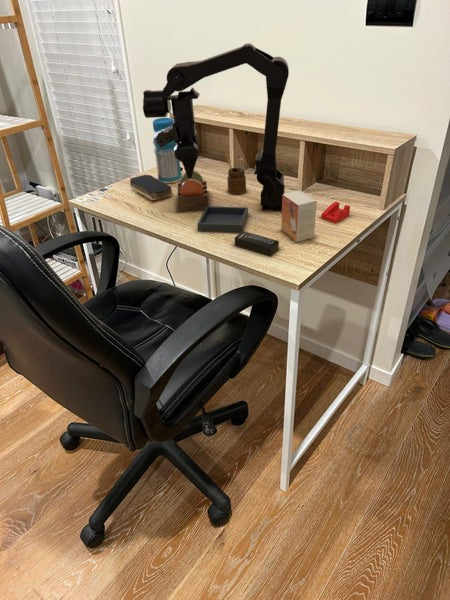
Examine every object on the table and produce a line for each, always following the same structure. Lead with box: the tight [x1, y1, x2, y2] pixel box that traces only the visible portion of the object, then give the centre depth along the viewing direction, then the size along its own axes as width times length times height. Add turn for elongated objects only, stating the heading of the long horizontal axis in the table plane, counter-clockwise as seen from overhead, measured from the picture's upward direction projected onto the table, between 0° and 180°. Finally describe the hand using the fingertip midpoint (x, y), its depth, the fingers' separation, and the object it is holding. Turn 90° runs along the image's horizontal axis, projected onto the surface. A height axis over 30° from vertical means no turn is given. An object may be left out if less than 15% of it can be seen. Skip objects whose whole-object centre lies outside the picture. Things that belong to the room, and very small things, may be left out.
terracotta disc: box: [180, 179, 204, 195], centre depth 135 cm, size 7×1×7 cm, turn 94°
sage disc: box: [180, 170, 204, 185], centre depth 141 cm, size 7×1×7 cm, turn 94°
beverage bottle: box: [152, 117, 183, 184], centre depth 153 cm, size 8×8×20 cm
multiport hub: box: [234, 230, 280, 257], centre depth 116 cm, size 4×11×2 cm, turn 54°
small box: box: [280, 190, 318, 243], centre depth 118 cm, size 8×6×10 cm
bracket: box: [320, 201, 351, 224], centre depth 127 cm, size 6×5×3 cm
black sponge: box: [129, 174, 173, 201], centre depth 148 cm, size 16×8×4 cm, turn 37°
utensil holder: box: [224, 152, 247, 195], centre depth 143 cm, size 6×6×12 cm
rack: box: [176, 180, 211, 214], centre depth 140 cm, size 10×12×5 cm
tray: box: [197, 205, 249, 234], centre depth 128 cm, size 12×11×2 cm
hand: (189, 172), depth 132 cm, fingers open, 9 cm apart
